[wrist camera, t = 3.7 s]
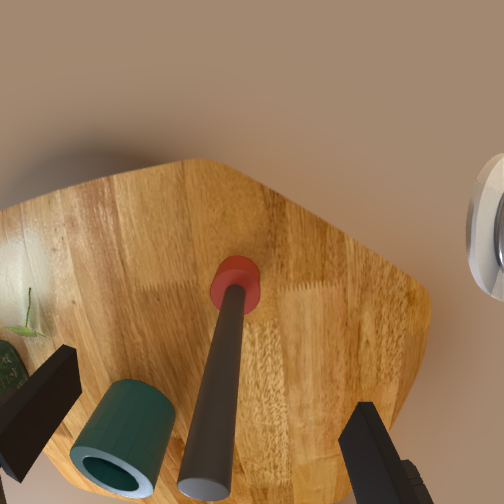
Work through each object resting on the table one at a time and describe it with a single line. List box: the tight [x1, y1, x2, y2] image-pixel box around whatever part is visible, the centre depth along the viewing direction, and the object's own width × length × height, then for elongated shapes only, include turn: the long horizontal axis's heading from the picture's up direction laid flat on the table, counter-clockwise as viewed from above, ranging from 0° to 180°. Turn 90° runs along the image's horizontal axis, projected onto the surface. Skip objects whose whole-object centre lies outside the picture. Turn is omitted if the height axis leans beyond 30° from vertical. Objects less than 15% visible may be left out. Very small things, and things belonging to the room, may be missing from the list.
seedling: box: [1, 288, 52, 340], centre depth 31 cm, size 7×8×7 cm
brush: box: [177, 256, 260, 501], centre depth 19 cm, size 4×4×24 cm
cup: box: [70, 380, 175, 498], centre depth 29 cm, size 10×10×13 cm
